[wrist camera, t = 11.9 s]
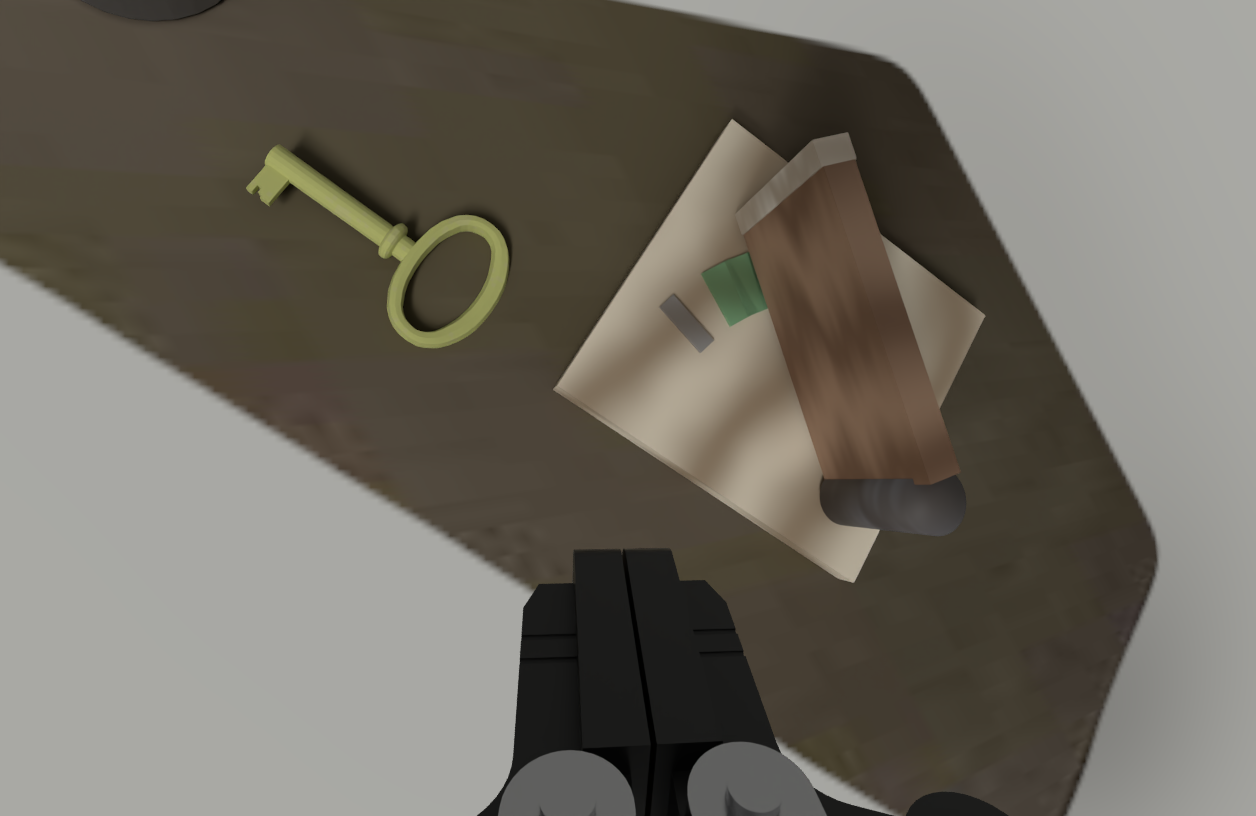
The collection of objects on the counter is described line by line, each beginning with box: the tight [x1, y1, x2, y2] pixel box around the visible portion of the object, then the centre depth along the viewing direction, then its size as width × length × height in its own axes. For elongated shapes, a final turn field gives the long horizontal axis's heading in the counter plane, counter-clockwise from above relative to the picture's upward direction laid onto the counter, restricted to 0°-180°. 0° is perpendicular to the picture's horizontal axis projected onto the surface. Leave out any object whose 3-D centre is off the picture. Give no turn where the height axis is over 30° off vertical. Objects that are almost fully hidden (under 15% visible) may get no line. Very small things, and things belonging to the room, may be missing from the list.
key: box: [246, 145, 509, 348], centre depth 32 cm, size 7×12×2 cm, turn 76°
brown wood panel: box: [735, 132, 966, 536], centre depth 32 cm, size 18×3×8 cm, turn 19°
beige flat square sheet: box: [553, 119, 985, 583], centre depth 37 cm, size 19×18×2 cm
